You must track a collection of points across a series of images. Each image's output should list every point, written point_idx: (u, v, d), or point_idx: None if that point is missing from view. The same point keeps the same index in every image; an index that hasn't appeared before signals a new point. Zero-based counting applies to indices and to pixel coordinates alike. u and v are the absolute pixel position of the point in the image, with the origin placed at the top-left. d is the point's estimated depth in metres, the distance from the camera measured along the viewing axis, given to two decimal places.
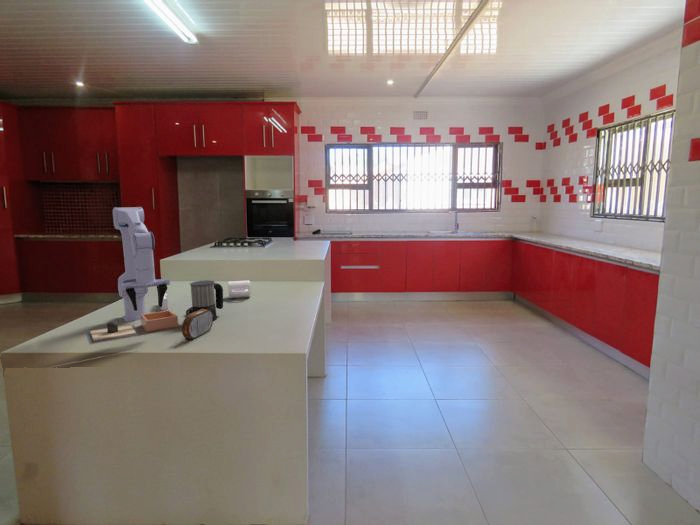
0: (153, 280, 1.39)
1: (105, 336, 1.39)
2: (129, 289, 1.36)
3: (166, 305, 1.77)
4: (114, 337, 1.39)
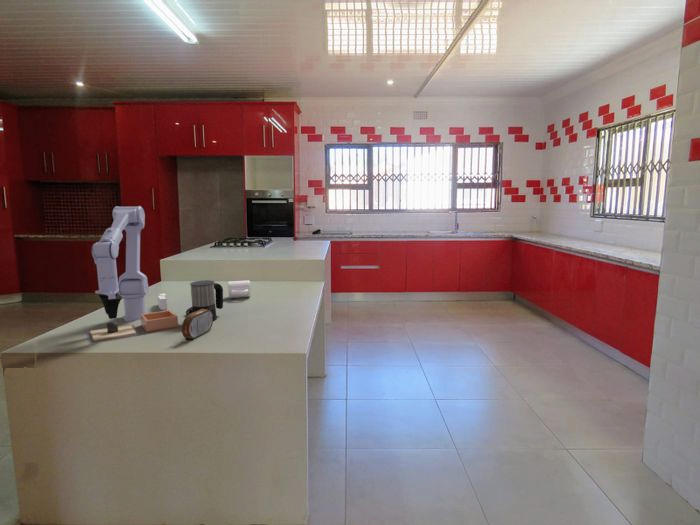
0: (102, 290, 1.39)
1: (105, 336, 1.39)
2: None
3: (165, 305, 1.77)
4: (114, 337, 1.39)
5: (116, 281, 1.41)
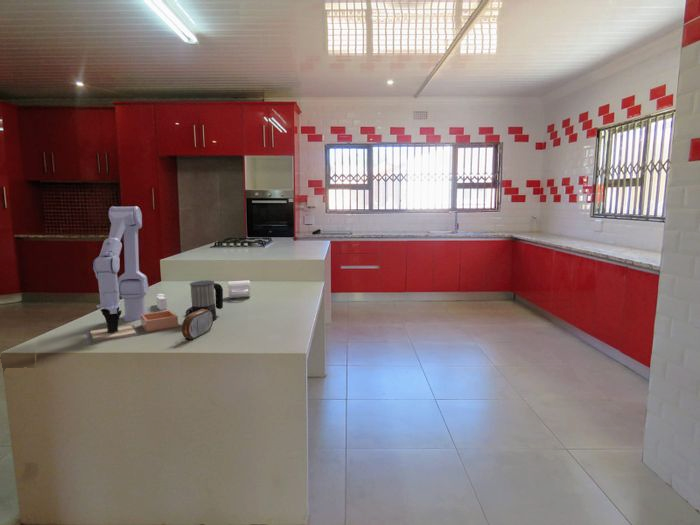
0: (104, 304, 1.40)
1: (105, 336, 1.39)
2: None
3: (165, 305, 1.77)
4: (114, 337, 1.39)
5: (117, 295, 1.42)
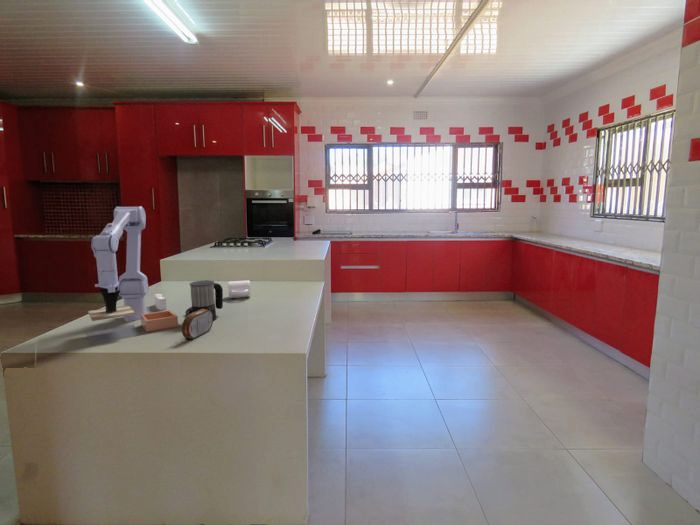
0: (102, 283, 1.39)
1: (103, 315, 1.38)
2: None
3: (165, 305, 1.78)
4: (112, 316, 1.38)
5: (116, 275, 1.41)
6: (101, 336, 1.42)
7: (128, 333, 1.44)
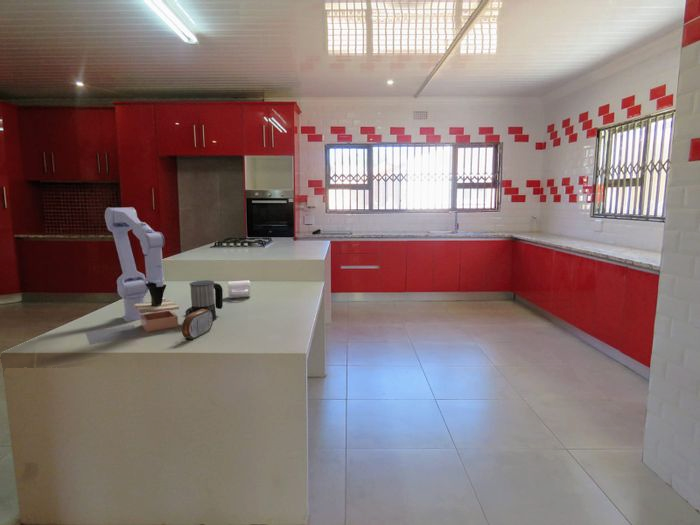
0: (150, 278, 1.47)
1: (150, 308, 1.46)
2: None
3: None
4: (159, 309, 1.46)
5: (162, 270, 1.50)
6: (101, 336, 1.42)
7: (128, 333, 1.44)
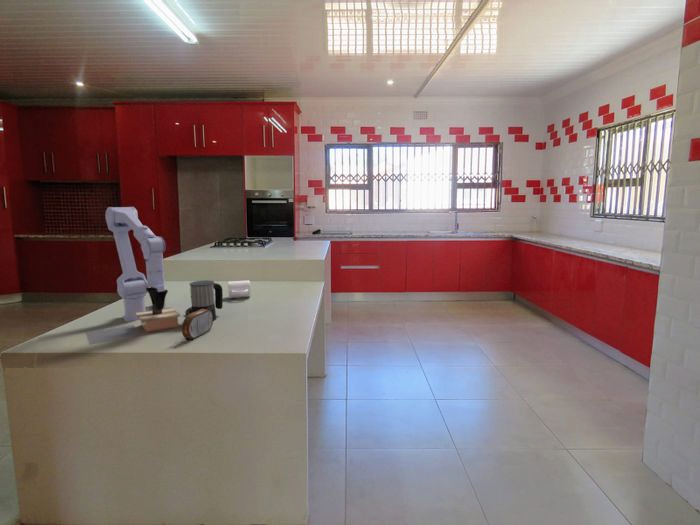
0: (151, 283, 1.48)
1: (152, 317, 1.47)
2: None
3: (164, 305, 1.78)
4: (160, 318, 1.47)
5: (163, 275, 1.50)
6: (101, 336, 1.42)
7: (128, 333, 1.44)
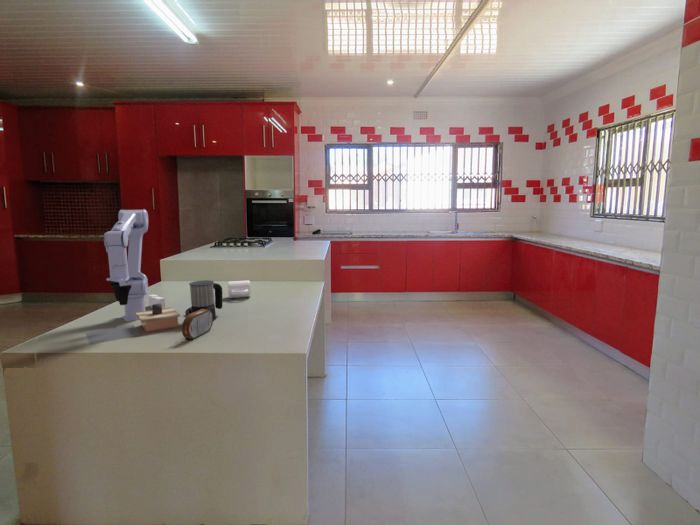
0: (113, 277, 1.44)
1: (152, 317, 1.47)
2: None
3: (163, 305, 1.78)
4: (160, 318, 1.47)
5: (126, 269, 1.46)
6: (101, 336, 1.42)
7: (128, 333, 1.44)
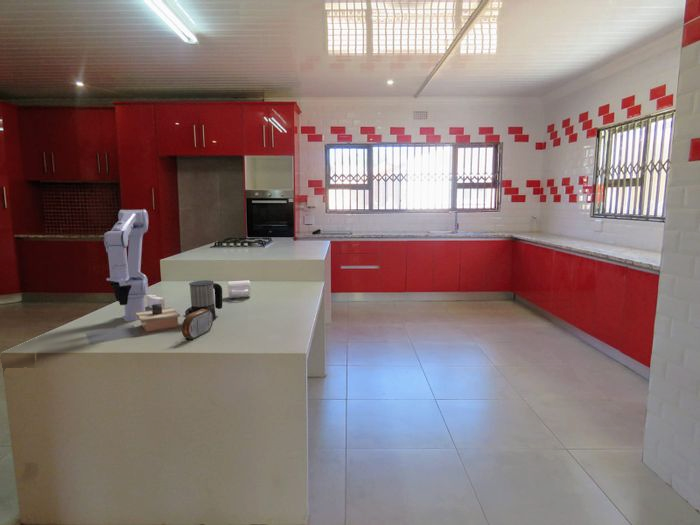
0: (113, 277, 1.44)
1: (152, 317, 1.47)
2: None
3: (163, 305, 1.78)
4: (160, 318, 1.47)
5: (126, 269, 1.46)
6: (101, 336, 1.42)
7: (128, 333, 1.44)
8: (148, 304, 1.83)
